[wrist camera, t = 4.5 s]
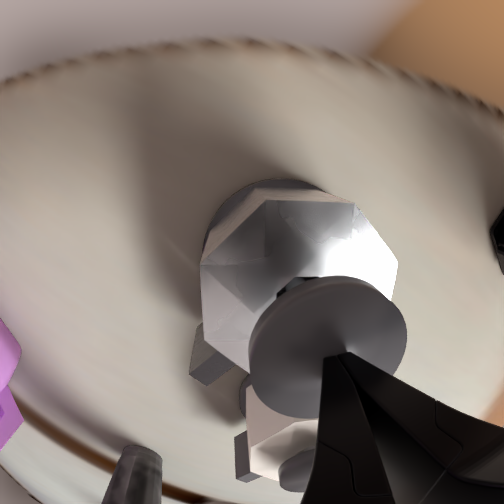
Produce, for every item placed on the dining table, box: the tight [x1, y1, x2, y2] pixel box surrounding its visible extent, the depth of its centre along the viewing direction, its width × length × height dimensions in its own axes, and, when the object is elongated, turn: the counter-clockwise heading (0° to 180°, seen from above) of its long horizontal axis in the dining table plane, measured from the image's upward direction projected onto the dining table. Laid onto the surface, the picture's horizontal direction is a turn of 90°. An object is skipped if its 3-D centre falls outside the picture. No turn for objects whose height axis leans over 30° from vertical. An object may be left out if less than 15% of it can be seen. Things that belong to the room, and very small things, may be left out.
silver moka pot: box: [189, 178, 398, 386], centre depth 15 cm, size 12×9×6 cm
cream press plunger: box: [278, 446, 315, 492], centre depth 17 cm, size 5×5×6 cm
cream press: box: [234, 374, 318, 483], centre depth 19 cm, size 12×9×6 cm
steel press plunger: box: [248, 275, 407, 419], centre depth 11 cm, size 5×5×6 cm
